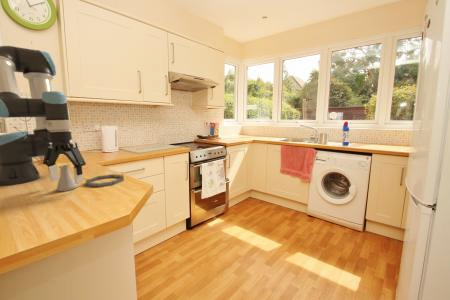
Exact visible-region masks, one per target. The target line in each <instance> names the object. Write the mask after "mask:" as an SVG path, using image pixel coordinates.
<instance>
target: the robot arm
mask: <svg viewBox="0 0 450 300" xmlns="http://www.w3.org/2000/svg"><path fill="white" fill-rule="evenodd" d="M15 72H16V73H21V74H22V75H23V78H24V79H26V80H28V86H29V90H30V91H29V92H30V96H31V97H30V98H28V97H26V98H25V97H21V95H20V94H21V93H20V91H19V85H18V83H17V78H16V75H15ZM56 74H57V69H56V65H55V62H54V58H53V57H52V54H50V53H49V52H47V51H42V50H39V49H33V48H32V49H31V48H24V47H19V46H18V47H17V46H13V45H2V46H0V118H5V119H7V118H34V120H35V125H36V127H35V128H34V129H32V131H33V133H29V132H28V131H18V132H17V131H16V132H10V133H4V134H0V186H10V185H11V186H12V185H18V184H24V183H29V182H33V181H36V180H39V179H40V177H41V176H40V172H39V170H38V169H37V167H36V166H35V164H34V162H33V158H40V157H43V161H42V164H43V165H45V166H47V169H48V174H49V179H50V182H52V183H53V182H55V181H59V179H60V178H59V174H58V168H57V161H58V159H59V156H60V155H64V156H65V157H67V159H68V161H70V163H72V165H73V175H74V180H75V183H76V184H77V185H78V184H80V183H83V182H84V180H83V179H84V178H83V166H86V164H87V162H86V161H85V159H84V158H83V155H82V153H81V151H80V149H79V148H78V143H77V142H70V141H72V140H73V138H72V132H71V131H70V130H71V121H70V117H69V116H70V115H69V109H68V99H67V96H66V93H64V92H62V91H54V90H52V85H51V81H52V80H53V79H54V76H56Z"/></svg>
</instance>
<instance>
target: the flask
mask: <svg viewBox="0 0 450 300" xmlns="http://www.w3.org/2000/svg"><path fill="white" fill-rule="evenodd" d="M58 168H60V176H59V178H58V179H59V180H58V183H57V186H56V188H55V190H56V191H58V192H67V191H70V190H75V189H76V188H78V187H79V184H78V183H77V184H76V183H75V178H73V175H72V174H71V171H70V165H69V164H64V165H63V164H62V165H60V166H59V167H58Z"/></svg>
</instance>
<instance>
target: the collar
mask: <svg viewBox="0 0 450 300" xmlns="http://www.w3.org/2000/svg"><path fill="white" fill-rule="evenodd" d="M111 177H112V178H115V179H114V180H112V181H111V180H110V181H107V182H106V181H105V182H100V183H99V182H95V181H99V180H103V179H111ZM123 181H125V178H124V173H122V174H121V173H120V174H112V173H111V174H105V175H98V176H95V177H91V178H86V179H85V187H92V188H93V187H94V188H100V187H102V188H103V187H107V186H113V185H117V184H119V183H122V182H123Z"/></svg>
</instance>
